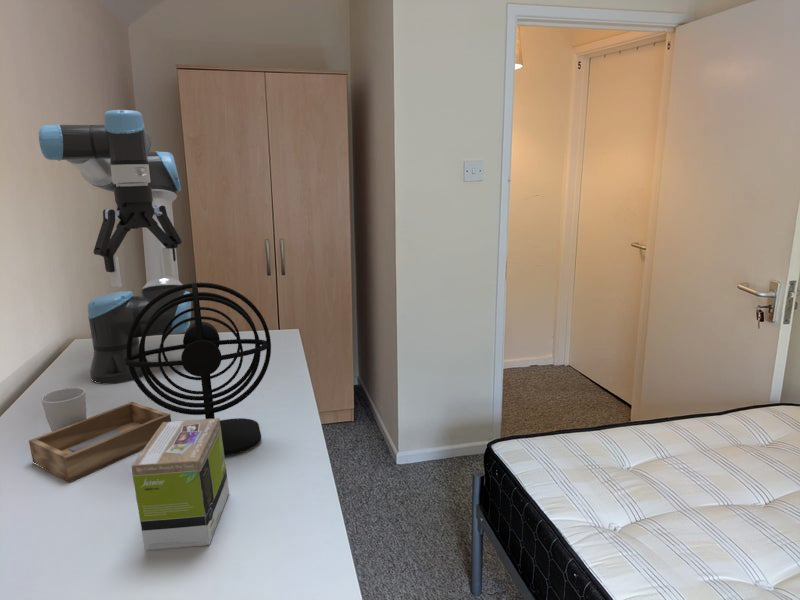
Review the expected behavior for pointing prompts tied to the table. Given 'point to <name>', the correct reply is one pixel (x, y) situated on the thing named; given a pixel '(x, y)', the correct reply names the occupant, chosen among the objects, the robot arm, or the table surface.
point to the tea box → (181, 484)
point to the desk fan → (203, 362)
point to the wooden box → (96, 441)
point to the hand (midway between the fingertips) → (144, 281)
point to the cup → (64, 407)
